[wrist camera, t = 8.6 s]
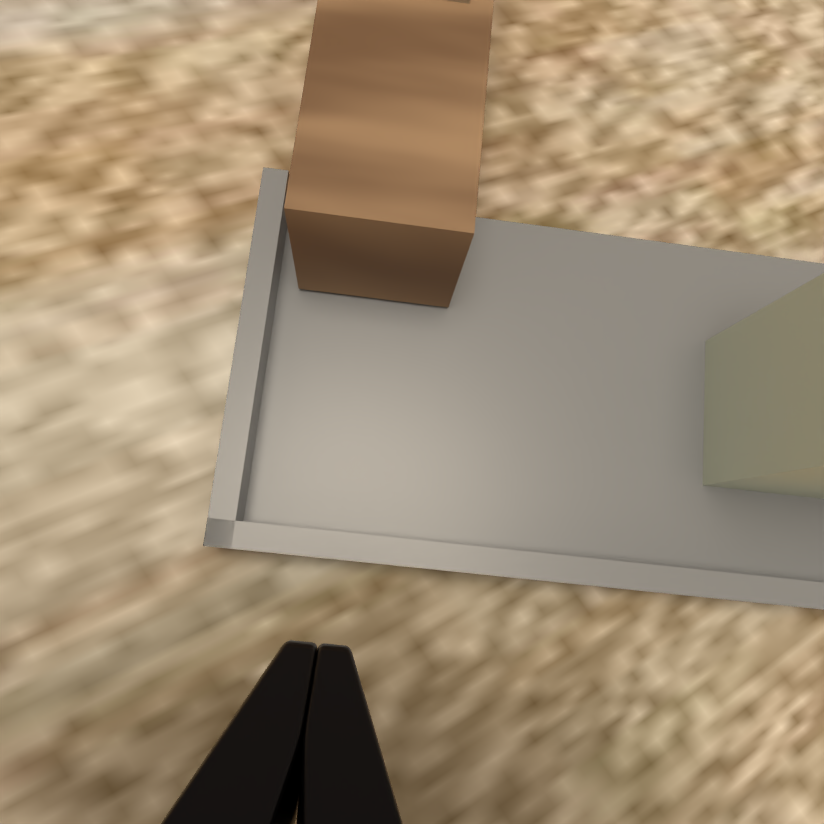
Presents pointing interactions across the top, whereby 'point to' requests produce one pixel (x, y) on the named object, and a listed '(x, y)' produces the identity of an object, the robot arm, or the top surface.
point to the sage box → (768, 398)
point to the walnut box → (389, 148)
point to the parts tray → (506, 419)
